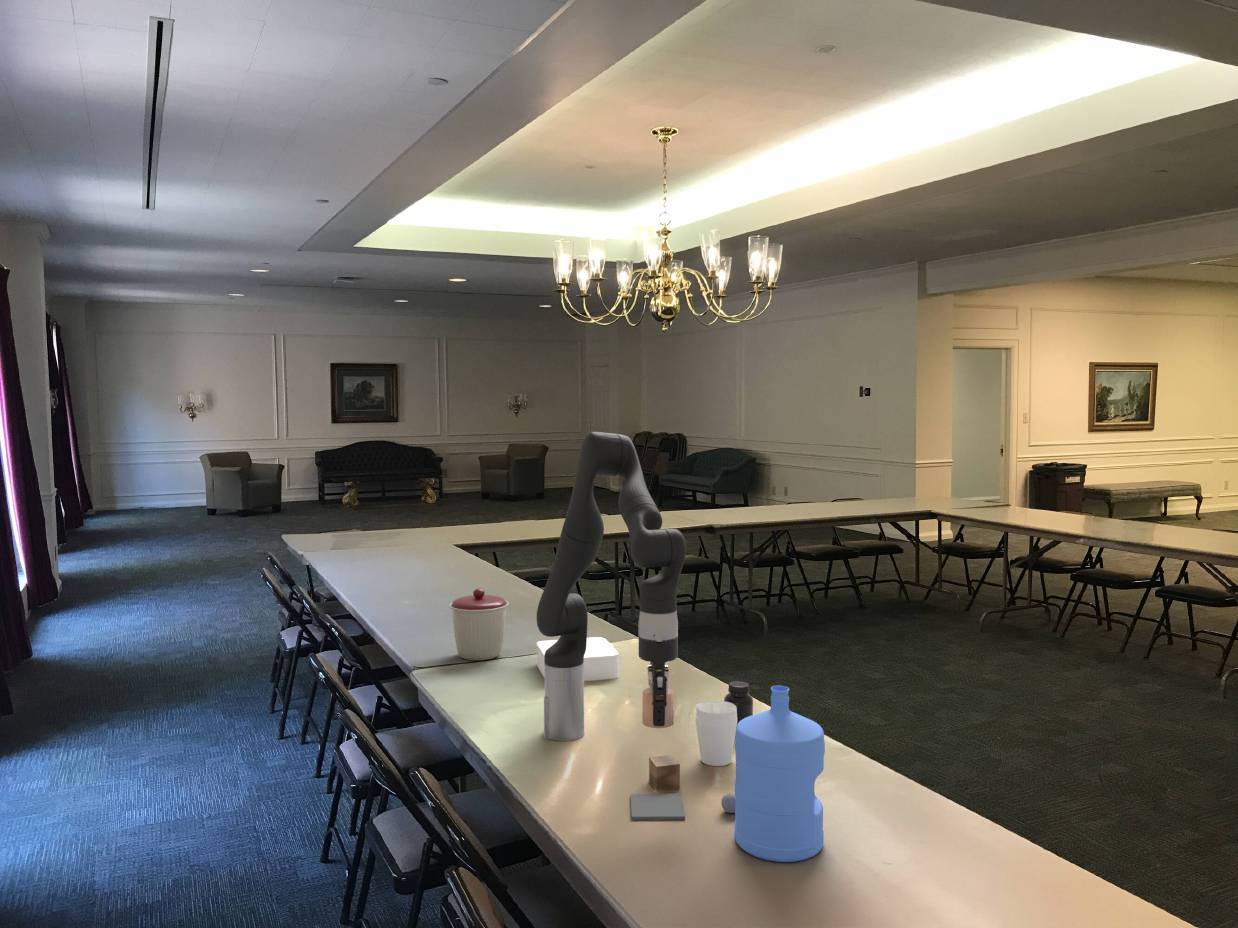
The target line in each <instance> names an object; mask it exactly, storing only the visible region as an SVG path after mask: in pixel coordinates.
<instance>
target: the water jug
mask: <svg viewBox="0 0 1238 928" xmlns="http://www.w3.org/2000/svg"><path fill="white" fill-rule="evenodd" d="M770 691H771V696H770V705H771V706H770V709H768V710H765V711H762V712H758V713H754V714H753V715H752V716H749V717H746V718H744V719H742V720H741V721H740V722H739V723H738V724H737V727H736V735H735V740H734V747H735V748H734V749H735V779H734V794H735V796H736V809H735V812H734V815H735V819H734V821H735V823H734V839H735V841H736V843H737V845H738V846H739V848H741V849H742V850H743V851H744V852H746V853H748V854H750V855H751V856H753V857H755V858H758V859H762V860H765V861H770V862H777V863H795V862H800V861H801V862H802V861H805V860H807V859H810V858H812V857H814V856H816V855H817V854H818V853H819V852H820V851H821V850H822V848H823V846H824V834H825V833H824V832H825V831H824V807H823V803H822V801H821V799H820V798H818V797H817V796H816V794H815V783H816V779H817V778H818V776H820V775H821V774H822V773H823V771H824V768H825V765H824V764H825V763H824V762H825V761H824V759H825V752H826V751H825V750H826V742H825V731H824V730H823V728H822V727H821V725H820V724H818V722H816V721H814V720H812V719H811V718H807V717H805V716H802V715H800V714H799V713H796V712H793V711H791V710H790V708H789V706H790V705H789V702H790V697H789V692H790V688H789V687H787V686H786V685H785V686H784V685H773V686H771V687H770Z"/></svg>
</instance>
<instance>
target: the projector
mask: <svg viewBox="0 0 1238 928" xmlns="http://www.w3.org/2000/svg"><path fill="white" fill-rule="evenodd" d="M558 640H559V639H549V640H541V641H540V640H539V641H537V642H536V666H537V668H538V669H539V671H540V674H541V675H542V676H543V678H544V679H545V663H544V655H545V652H546V650H547V649H548V648H550V647H551V646H552V645H554V644H555V643H556V642H557V641H558ZM619 659H620V658H619V651H618V650H617V649H616V648H615V647H614V645H613V643H611V642H610V641H608V640H607V639H606V638H604V637H600V636H594V637H593V636H592V637H587V645H586V652H585V654H584V682H588V681H589V682H590V681H603V680H613V679H617V678H619V676H620V675H619V674H620V673H619V672H620V671H619V670H620V669H619V664H620V663H619Z"/></svg>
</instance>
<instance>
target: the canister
mask: <svg viewBox="0 0 1238 928" xmlns="http://www.w3.org/2000/svg"><path fill="white" fill-rule="evenodd" d="M472 594H473V595H465V596H462V597H459V598H458V597H457V598H456V599H454V600H453V601H452V602H450V603H449V605H448V607H449V608H450V609H451V615H452V616H451V617H452V624H453V634H454V640H455V645H456V646H455V647H456V650H457V653H458V655H459V656H460V657H461V658H463V659H465V660H468V661H486V660H491V659H494V658H496V657H498V656H499V655H500V654H501V652H502V649H503V644H504V637H505V630H506V629H505V627H506V617H507V607H508V606H509V601H508V600H506V599H504V598H503V597H500V596H497V595H493V594H486V593H485V590H484V589H483V588H475V589H474V590H473V592H472Z"/></svg>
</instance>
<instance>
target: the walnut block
mask: <svg viewBox="0 0 1238 928" xmlns="http://www.w3.org/2000/svg"><path fill="white" fill-rule="evenodd" d="M648 768H649V769H648V781H649V783H650V784H651V785H652V787H653V788H654V789H655V790H656V791H664V790H672V789H679V788H681V787H680V784H681V781H680V780H681V775H680V774H681V763H680V762H679V761H678V760H677V759H676V758H675V757H674V755H673V754H668V755H660V756H651V757H650V756H649V757H648Z"/></svg>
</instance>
